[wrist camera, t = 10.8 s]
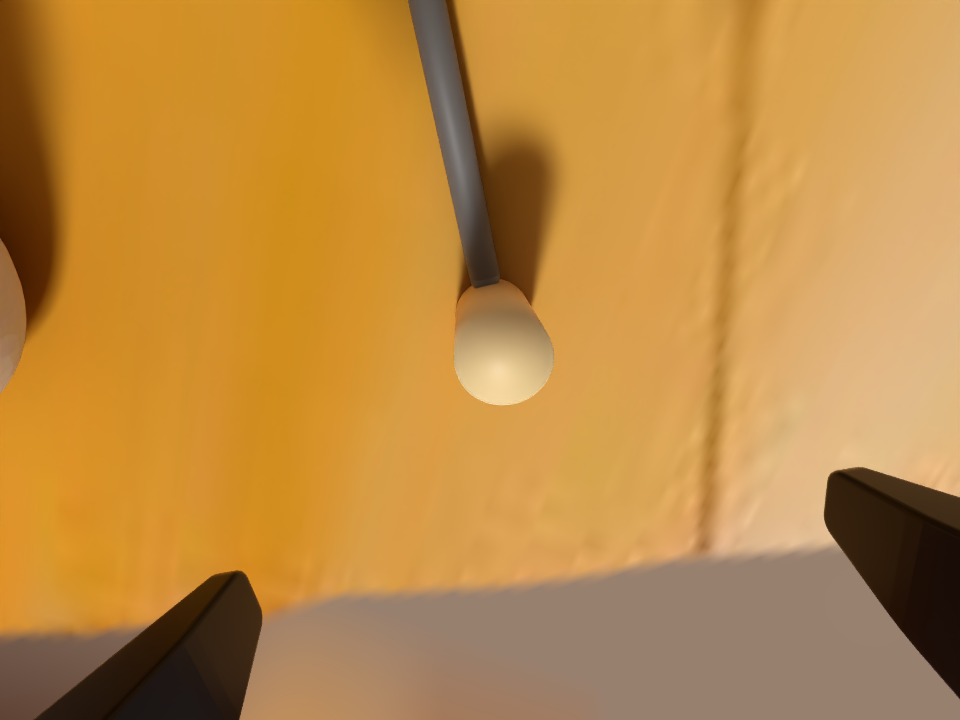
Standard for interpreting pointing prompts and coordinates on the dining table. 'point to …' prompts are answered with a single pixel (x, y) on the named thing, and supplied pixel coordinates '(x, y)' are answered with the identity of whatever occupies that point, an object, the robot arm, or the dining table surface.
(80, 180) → the dining table surface
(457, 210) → the mallet
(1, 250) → the teacup
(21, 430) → the dining table surface
